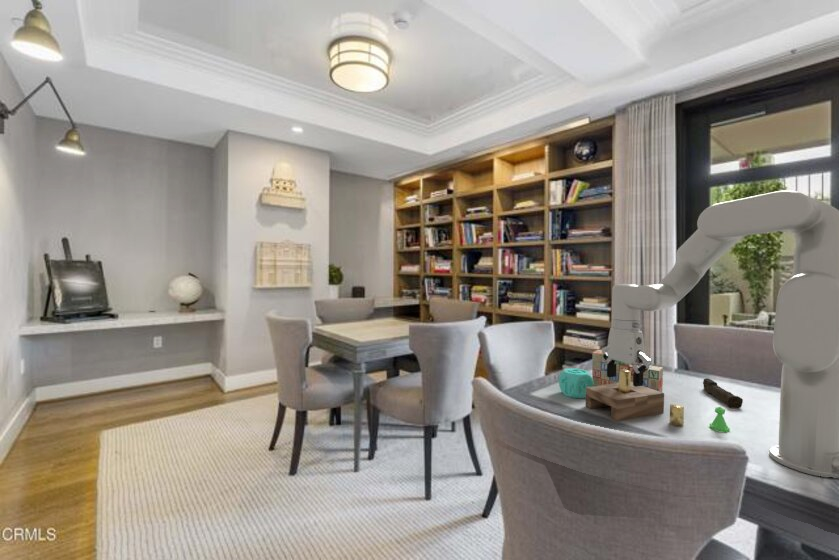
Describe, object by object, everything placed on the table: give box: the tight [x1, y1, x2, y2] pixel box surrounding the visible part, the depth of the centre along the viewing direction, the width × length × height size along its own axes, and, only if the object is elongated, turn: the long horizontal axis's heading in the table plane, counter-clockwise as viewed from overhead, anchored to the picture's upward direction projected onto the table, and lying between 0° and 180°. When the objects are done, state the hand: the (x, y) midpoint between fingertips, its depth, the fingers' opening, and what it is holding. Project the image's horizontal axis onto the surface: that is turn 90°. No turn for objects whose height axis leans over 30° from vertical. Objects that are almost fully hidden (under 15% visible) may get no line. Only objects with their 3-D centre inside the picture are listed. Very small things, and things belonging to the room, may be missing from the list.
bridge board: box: [585, 382, 665, 422], centre depth 117 cm, size 12×18×6 cm, turn 109°
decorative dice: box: [558, 367, 595, 399], centre depth 131 cm, size 8×8×8 cm
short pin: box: [669, 403, 685, 427], centre depth 107 cm, size 3×3×5 cm
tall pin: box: [618, 369, 631, 393], centre depth 117 cm, size 3×3×12 cm
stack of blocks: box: [591, 349, 664, 392], centre depth 136 cm, size 21×6×12 cm, turn 46°
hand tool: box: [702, 377, 744, 409], centre depth 127 cm, size 19×4×5 cm, turn 165°
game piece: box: [709, 406, 731, 433], centre depth 104 cm, size 4×4×6 cm
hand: (624, 381), depth 117 cm, fingers open, 9 cm apart
